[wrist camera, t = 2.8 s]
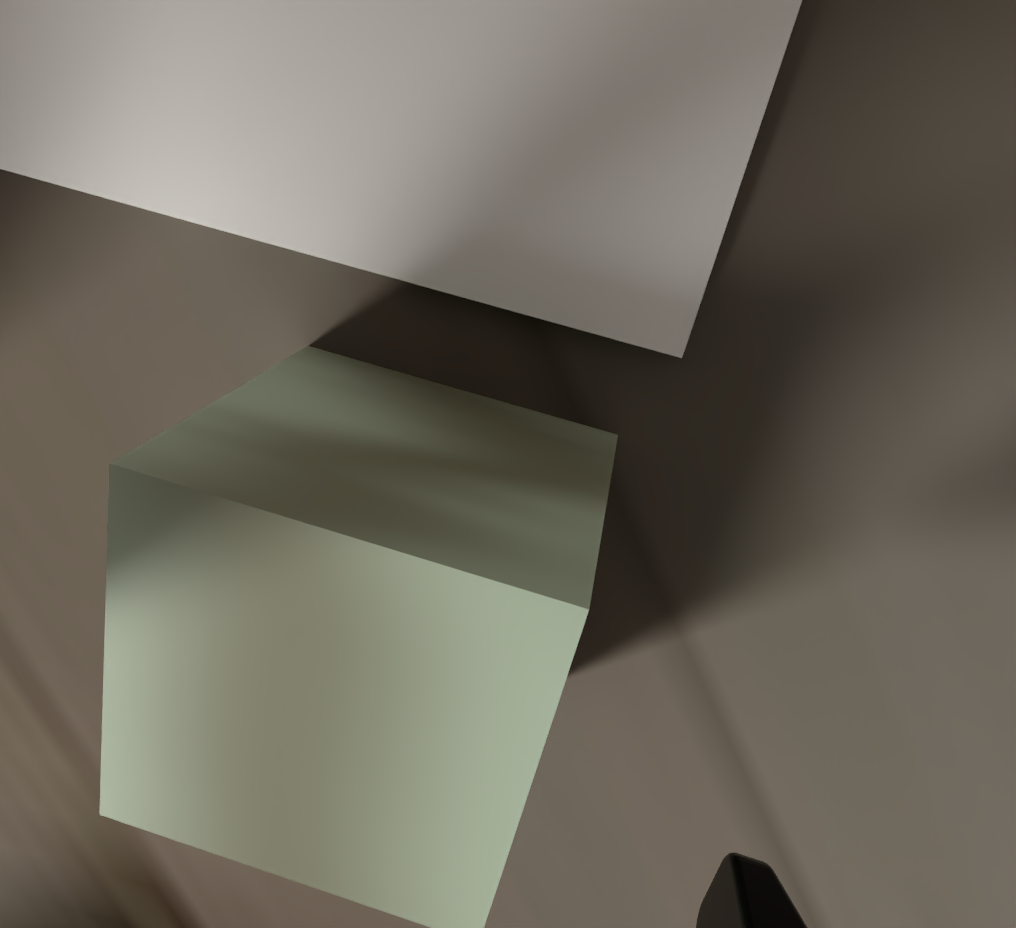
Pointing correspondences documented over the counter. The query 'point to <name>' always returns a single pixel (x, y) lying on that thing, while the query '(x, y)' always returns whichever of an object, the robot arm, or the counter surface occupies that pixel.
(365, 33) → the board
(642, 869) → the counter surface
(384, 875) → the sage block
